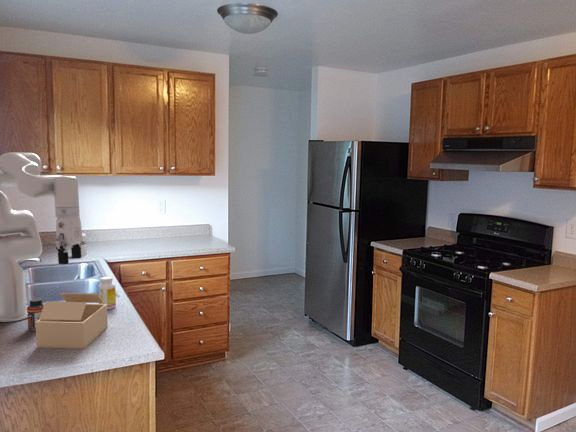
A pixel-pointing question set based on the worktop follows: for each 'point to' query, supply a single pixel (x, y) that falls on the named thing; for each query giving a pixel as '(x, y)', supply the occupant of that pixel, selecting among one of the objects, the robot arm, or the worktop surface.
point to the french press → (83, 248)
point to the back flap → (82, 297)
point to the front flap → (62, 310)
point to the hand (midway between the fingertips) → (70, 261)
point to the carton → (72, 329)
